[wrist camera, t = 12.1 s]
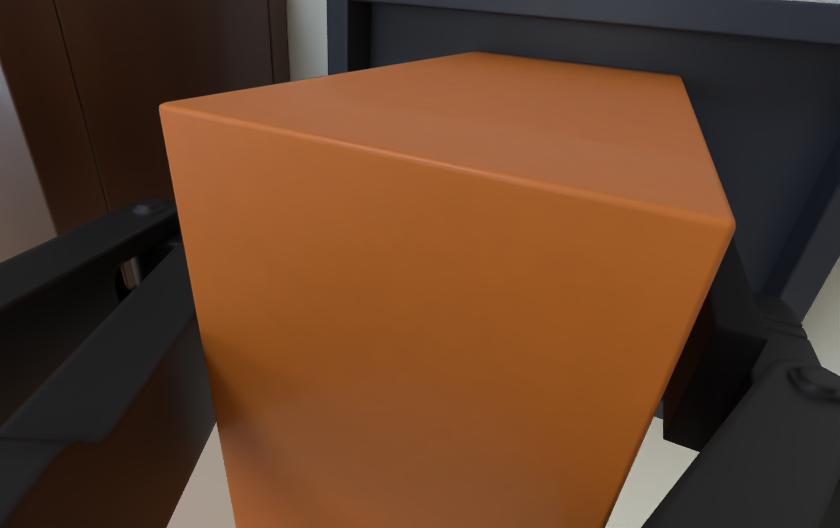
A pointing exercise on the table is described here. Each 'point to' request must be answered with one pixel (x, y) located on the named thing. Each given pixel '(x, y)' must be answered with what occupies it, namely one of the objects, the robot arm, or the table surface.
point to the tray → (705, 85)
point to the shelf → (112, 99)
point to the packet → (443, 285)
